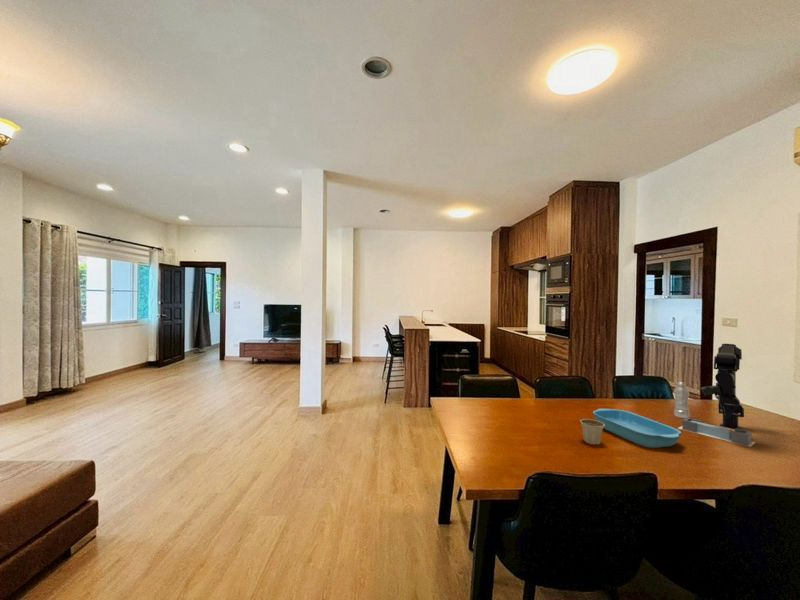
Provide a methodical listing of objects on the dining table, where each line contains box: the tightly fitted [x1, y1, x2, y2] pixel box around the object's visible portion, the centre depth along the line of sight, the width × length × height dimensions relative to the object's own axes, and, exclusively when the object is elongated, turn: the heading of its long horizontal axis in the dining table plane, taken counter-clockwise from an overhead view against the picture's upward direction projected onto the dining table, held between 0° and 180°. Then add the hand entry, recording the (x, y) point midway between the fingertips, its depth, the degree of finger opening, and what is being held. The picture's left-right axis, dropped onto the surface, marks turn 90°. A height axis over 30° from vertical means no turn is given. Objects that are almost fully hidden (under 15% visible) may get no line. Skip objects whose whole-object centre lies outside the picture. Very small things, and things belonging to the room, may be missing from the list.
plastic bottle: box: [673, 380, 691, 420], centre depth 179 cm, size 6×7×20 cm
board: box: [677, 425, 756, 448], centre depth 153 cm, size 9×25×1 cm, turn 34°
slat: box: [691, 421, 732, 440], centre depth 155 cm, size 4×14×4 cm, turn 34°
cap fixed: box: [681, 417, 702, 434], centre depth 160 cm, size 7×5×4 cm
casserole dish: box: [592, 408, 682, 449], centre depth 154 cm, size 37×22×7 cm, turn 13°
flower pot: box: [579, 418, 605, 445], centre depth 145 cm, size 9×9×9 cm
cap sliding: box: [731, 428, 753, 446], centre depth 146 cm, size 7×5×4 cm
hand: (726, 415), depth 150 cm, fingers open, 9 cm apart
